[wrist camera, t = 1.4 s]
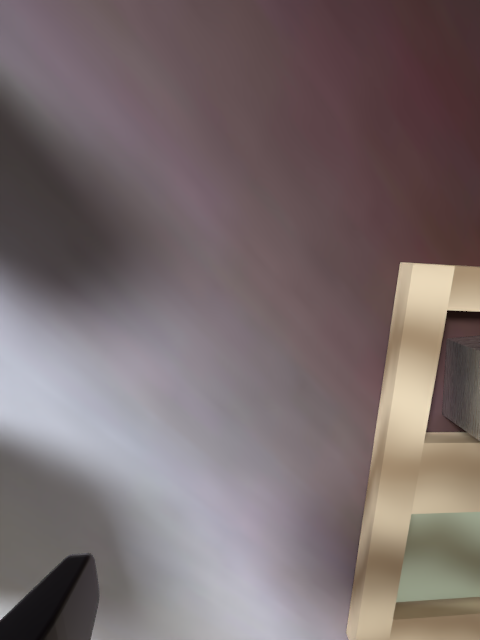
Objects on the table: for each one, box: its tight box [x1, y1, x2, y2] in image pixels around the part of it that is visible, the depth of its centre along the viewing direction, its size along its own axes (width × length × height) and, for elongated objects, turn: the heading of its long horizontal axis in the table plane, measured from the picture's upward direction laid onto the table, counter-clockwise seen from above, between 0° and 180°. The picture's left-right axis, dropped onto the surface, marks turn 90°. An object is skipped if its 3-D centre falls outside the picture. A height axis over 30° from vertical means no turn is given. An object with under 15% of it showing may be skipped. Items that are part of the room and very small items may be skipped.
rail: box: [346, 262, 480, 640], centre depth 22 cm, size 24×12×1 cm, turn 177°
